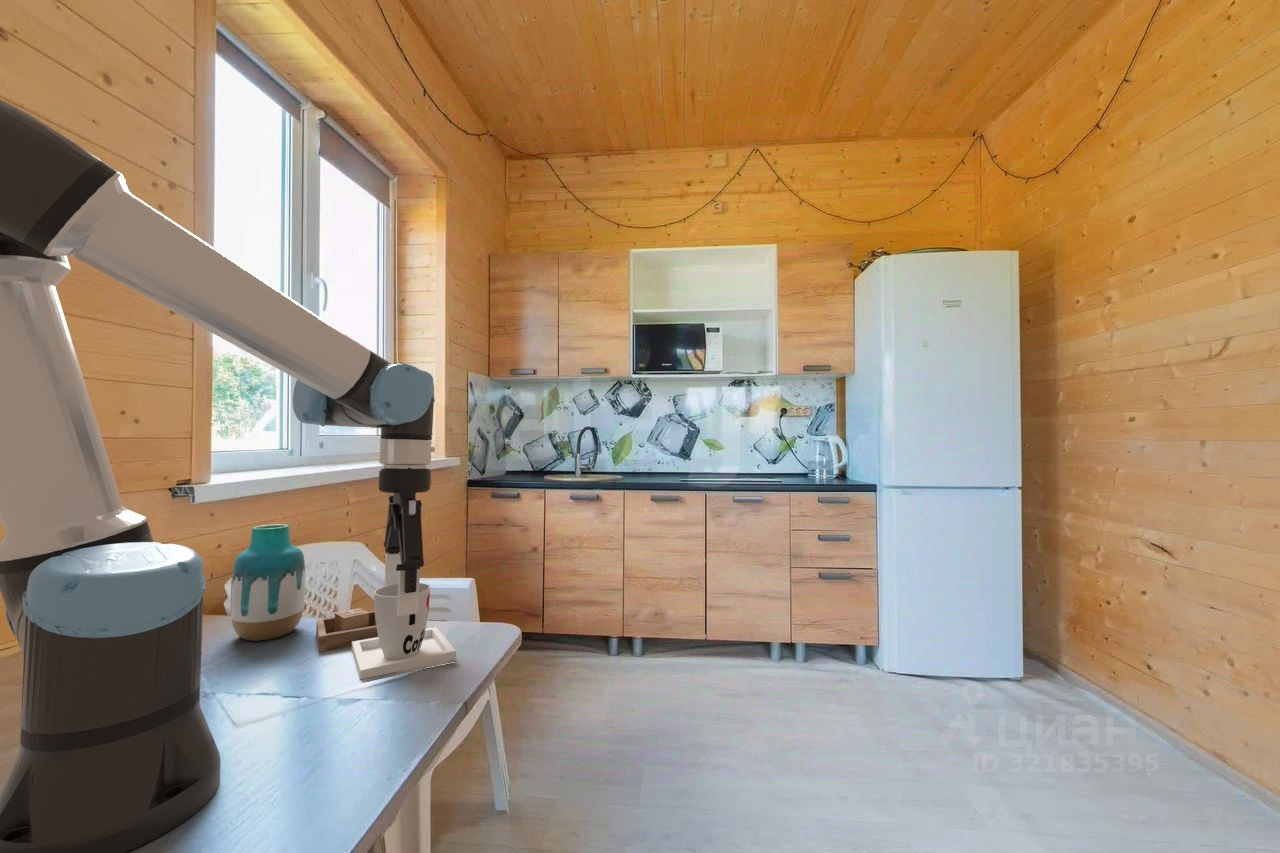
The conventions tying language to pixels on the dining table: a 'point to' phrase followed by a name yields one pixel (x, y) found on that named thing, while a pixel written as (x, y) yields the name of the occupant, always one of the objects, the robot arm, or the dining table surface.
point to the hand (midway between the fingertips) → (399, 603)
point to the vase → (268, 585)
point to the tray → (375, 663)
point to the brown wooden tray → (342, 634)
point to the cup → (400, 622)
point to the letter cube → (351, 619)
